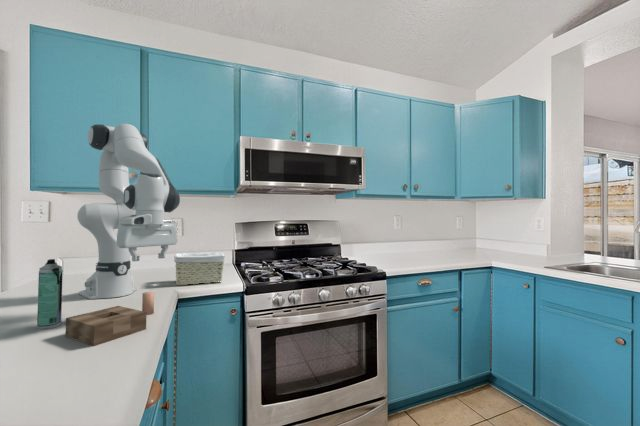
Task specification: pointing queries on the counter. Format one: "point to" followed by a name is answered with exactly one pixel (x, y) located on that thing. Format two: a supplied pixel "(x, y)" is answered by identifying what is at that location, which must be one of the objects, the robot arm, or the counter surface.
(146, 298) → the pin
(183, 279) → the storage basket
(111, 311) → the bore block
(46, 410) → the counter surface
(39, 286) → the spray can
